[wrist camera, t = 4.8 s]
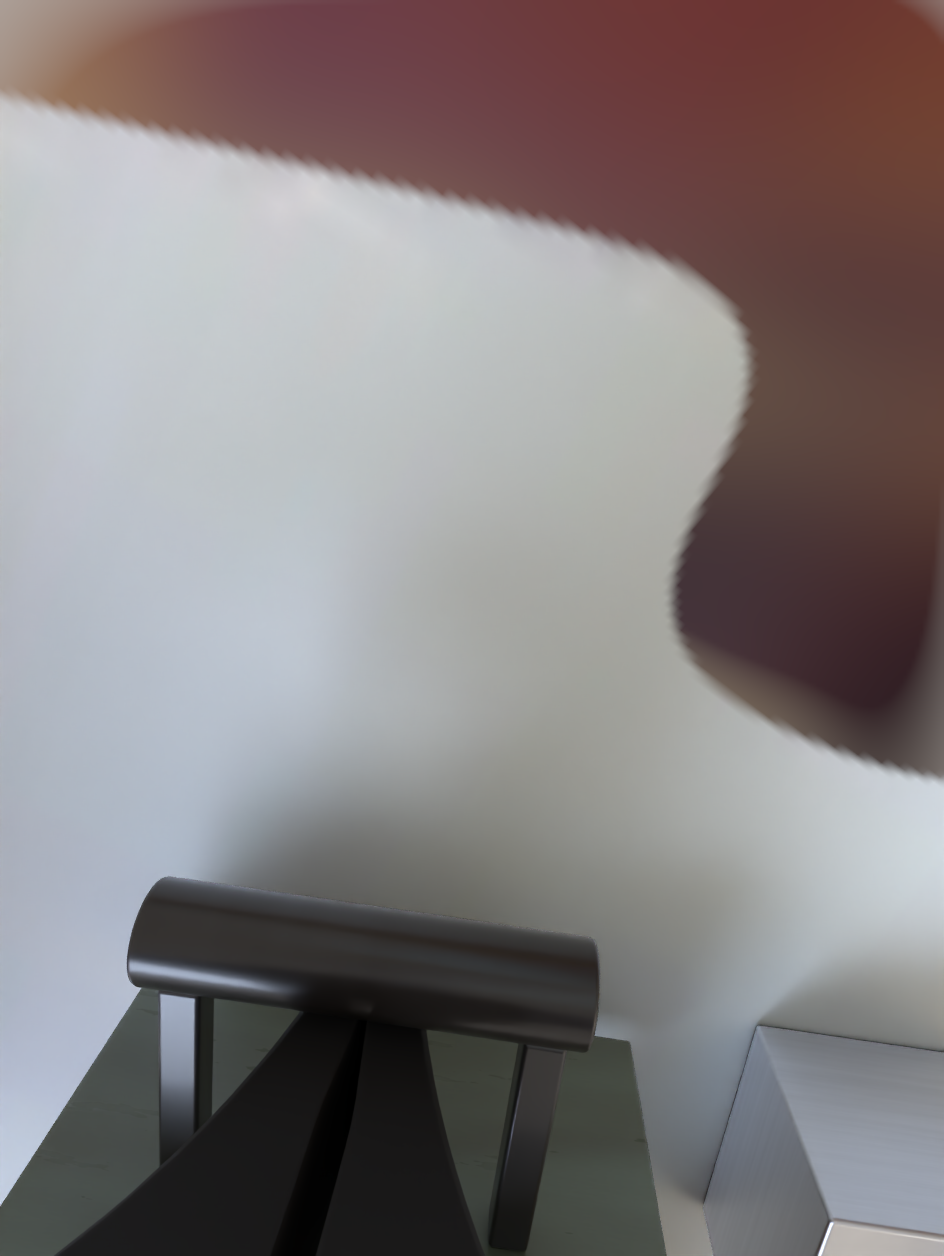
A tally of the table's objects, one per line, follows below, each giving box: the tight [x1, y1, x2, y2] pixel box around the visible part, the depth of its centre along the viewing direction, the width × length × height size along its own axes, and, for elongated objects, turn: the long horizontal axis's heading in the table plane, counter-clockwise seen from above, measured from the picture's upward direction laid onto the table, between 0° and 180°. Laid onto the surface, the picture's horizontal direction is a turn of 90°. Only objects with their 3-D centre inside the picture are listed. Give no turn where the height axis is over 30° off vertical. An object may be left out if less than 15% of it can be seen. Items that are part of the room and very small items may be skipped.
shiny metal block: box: [703, 1026, 944, 1256], centre depth 15 cm, size 6×4×4 cm
